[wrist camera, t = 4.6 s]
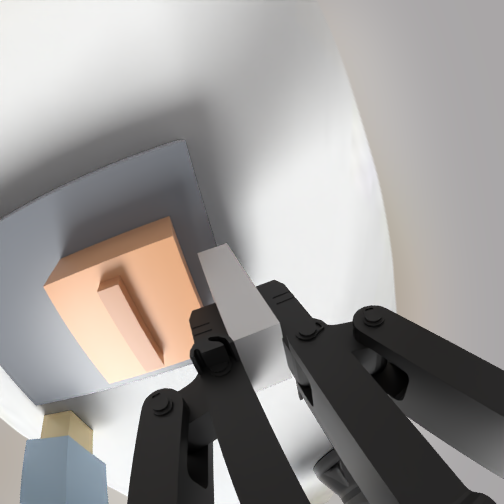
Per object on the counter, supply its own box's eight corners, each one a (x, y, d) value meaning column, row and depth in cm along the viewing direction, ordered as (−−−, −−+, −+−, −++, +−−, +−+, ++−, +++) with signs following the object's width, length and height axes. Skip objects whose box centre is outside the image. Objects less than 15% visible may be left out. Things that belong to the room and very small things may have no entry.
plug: (105, 434, 24) (111, 526, 14) (65, 440, 23) (64, 525, 13) (72, 402, 21) (66, 507, 11) (32, 410, 20) (19, 503, 10)
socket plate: (179, 139, 16) (185, 140, 13) (233, 310, 22) (248, 343, 19) (-35, 241, 13) (-62, 264, 10) (44, 372, 19) (36, 405, 16)
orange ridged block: (169, 215, 14) (174, 242, 11) (207, 316, 17) (222, 359, 14) (60, 258, 13) (37, 295, 10) (112, 348, 16) (108, 394, 12)
